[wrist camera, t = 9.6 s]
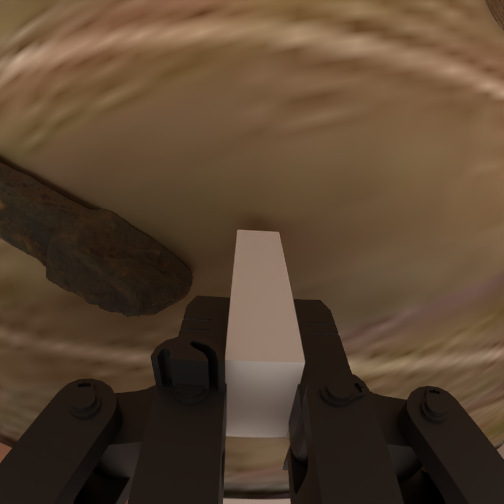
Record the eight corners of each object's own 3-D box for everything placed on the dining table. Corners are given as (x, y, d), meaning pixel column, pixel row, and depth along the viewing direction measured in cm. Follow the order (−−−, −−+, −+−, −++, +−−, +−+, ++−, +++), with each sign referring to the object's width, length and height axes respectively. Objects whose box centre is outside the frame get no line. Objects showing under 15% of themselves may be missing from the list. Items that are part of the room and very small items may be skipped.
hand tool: (-55, 174, 14) (-101, 196, 9) (-46, 118, 12) (-97, 132, 8) (174, 308, 17) (153, 367, 13) (204, 250, 16) (187, 304, 12)
